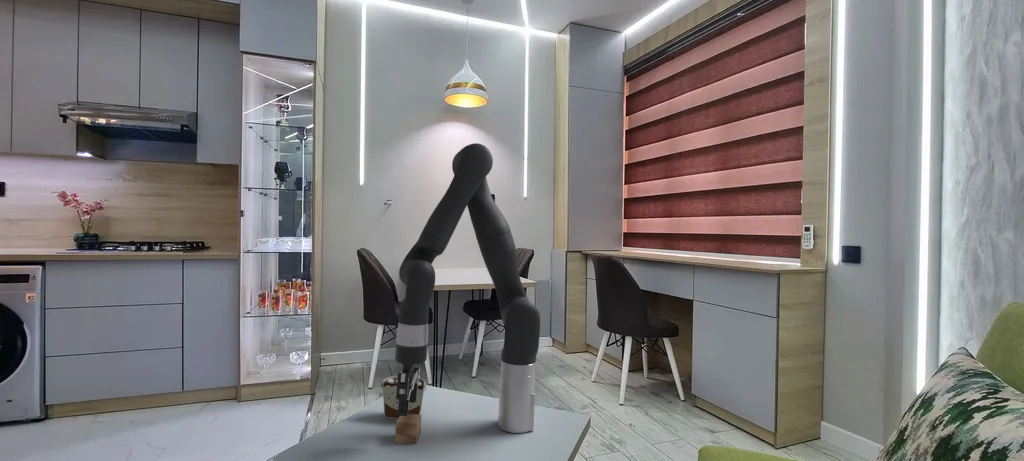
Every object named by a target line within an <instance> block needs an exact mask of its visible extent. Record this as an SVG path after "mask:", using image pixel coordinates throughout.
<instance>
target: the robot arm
mask: <svg viewBox="0 0 1024 461" xmlns="http://www.w3.org/2000/svg"><path fill="white" fill-rule="evenodd" d="M451 164H452V165H451V168H452V173H453V178H452V180H451V182H450V184H449V186H448V188H447V190H446V191H445V193H444V195H443V196H442V198H441V199H440V201H439V202H438V203H437V205H436V207H435V208H434V210H433V211H432V213H431V214H430V216H429V217H428V220H427V221H426V224H425V225H424V227H423V229H422V231H421V233H420V235H419V237H418V239H417V241H416V242H415V244H414V245H413V246H412V247H411V248H410V250H409V251H408V253H407V254H406V256H405V257H404V258H403V260H402V262H401V264H400V267H399V271H398V275H399V280H400V281H401V283H403V284H404V285H405V286H406V289H405V295H404V298H403V299H402V300H401V301H400V304H399V305H400V306H399V312H398V313H399V314H398V323H397V325H398V326H397V329H396V339H395V340H396V342H395V343H396V344H395V353H394V354H395V355H394V360H395V362H397V363H398V364H401V365H402V369H400V370H399V371H400V372H398V374H397V375H398V381H397V392H396V399H398V400H399V407H398V415H399V416H407V415H408V409H409V402H411V403H415V402H416V399H417V387H418V385H419V382H420V380H421V378H422V377H421V372H422V364H424V363H425V362H427V359H428V346H429V345H428V344H429V316H430V304H431V300H432V297H433V293H434V290H435V285H436V271H435V268H434V266H433V265H432V264H433V263H434V261H435V259H436V258H437V257H439V256H440V255H442V254H444V252H445V250H446V249H447V247H448V245H449V242H450V240H451V239H452V236H453V235H454V232H455V230H456V228H457V226H458V224H459V222H460V220H461V218H462V216H463V214H464V212H465V210H466V208H467V210H468V213H469V218H470V221H471V224H472V227H473V231H474V234H475V238H476V242H477V244H478V248H479V250H480V253H481V257H482V259H483V261H484V264H485V267H486V270H487V272H488V273H489V276H490V279H491V281H492V283H493V285H494V289H495V292H496V297H497V301H498V306H499V311H500V317H501V320H502V324H503V325H504V337H503V338H504V339H503V347H502V349H501V354H500V373H499V374H500V380H499V398H498V417H497V418H498V419H497V420H498V421H497V426H498V428H499V429H500V430H502V431H504V432H508V433H513V434H522V433H523V434H524V433H527V432H534V430H535V429H534V427H535V404H536V391H535V388H536V368H537V367H536V366H537V365H536V364H537V354H538V353H539V348H540V346H539V345H540V337H541V336H540V333H541V315H540V311H539V309H538V307H537V306H535V304H533V303H532V302H530V300H529V298H528V295H527V294H526V290H525V288H524V286H523V284H522V281H521V276H520V272H519V271H520V270H519V260H518V253H517V248H516V244H515V241H514V240H515V239H514V237H513V235H512V231H511V228H510V225H509V223H508V221H507V219H506V217H505V216H504V214H503V213H502V211H501V210H500V208H499V207H498V205H497V204H496V202H495V200H494V198H493V196H492V194H491V191H490V187H489V183H488V179H487V176H488V175H489V174H490V173H491V171H492V168H493V165H494V158H493V154H492V152H491V151H490V149H489V148H488V147H487V146H486V145H484V144H481V143H476V142H475V143H469V144H467V145H465V146H464V147H462V148H461V149H459V151H458V152H457V153H456V154H455V155H454V157H453V159H452V163H451ZM420 377H421V378H420ZM416 386H417V387H416ZM403 390H405V394H402V391H403Z"/></svg>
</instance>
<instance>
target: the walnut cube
mask: <svg viewBox="0 0 1024 461" xmlns="http://www.w3.org/2000/svg"><path fill="white" fill-rule="evenodd" d="M421 430H422V414H420V415H417V414H408V415H407V416H400V417H399V418H398V419H396V421H395V436H394V443H395V444H403V443H406V444H407V445H417V443H418V441H419V440H420V437H421V435H422V434H421V433H422V432H421ZM406 444H405V445H406Z"/></svg>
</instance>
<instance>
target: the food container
mask: <svg viewBox="0 0 1024 461" xmlns="http://www.w3.org/2000/svg"><path fill="white" fill-rule="evenodd" d="M420 378H421V380H420V382H419V385H418V387H417V386H416V387H417V399H416V402H415V403H411V402H409V409H408V414H417V415H421V412H422V404H423V398H424V392H426V391H427V382H426V381H425V379H424V378H423V377H421V376H420ZM397 381H398V374H397V375H392V376H389V377H386V378H384V379H382V382H381V384H380V388H382V394H383V396H382V397H383V415H384V416H383V418H384V419H394V420H398V418H399V417H400V416H399V415H398V407H399V400H398V399H396V392H397ZM402 394H405V390H403V391H402Z"/></svg>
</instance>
